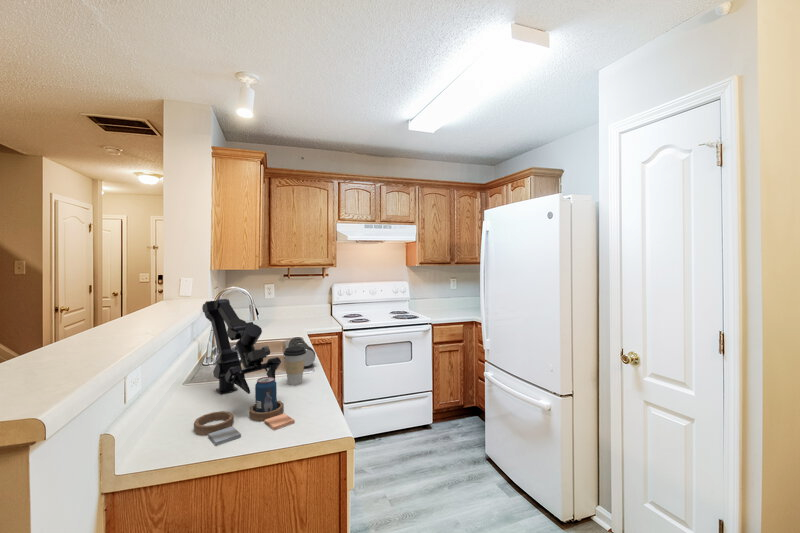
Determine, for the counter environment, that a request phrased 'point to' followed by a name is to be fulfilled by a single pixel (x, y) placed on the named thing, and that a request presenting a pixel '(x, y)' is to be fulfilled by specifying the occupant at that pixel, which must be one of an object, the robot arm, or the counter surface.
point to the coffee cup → (294, 364)
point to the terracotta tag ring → (272, 417)
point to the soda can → (265, 395)
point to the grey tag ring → (217, 427)
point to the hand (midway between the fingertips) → (262, 389)
